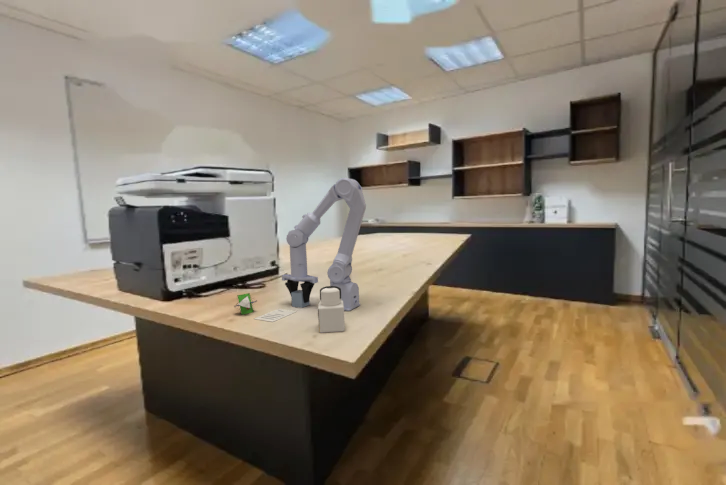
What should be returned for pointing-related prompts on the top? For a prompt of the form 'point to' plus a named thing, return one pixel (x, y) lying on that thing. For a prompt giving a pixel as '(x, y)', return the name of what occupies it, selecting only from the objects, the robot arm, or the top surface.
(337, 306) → the medicine bottle
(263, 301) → the top surface
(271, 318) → the letter
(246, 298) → the geometric puzzle
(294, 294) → the slate cube
